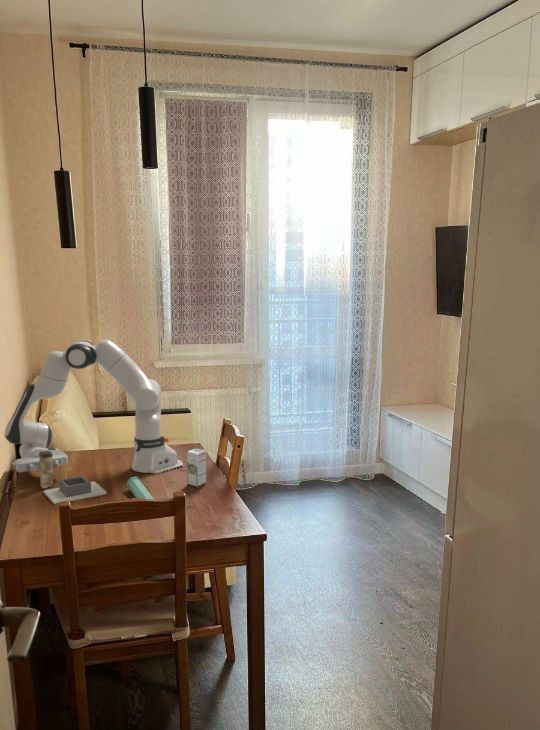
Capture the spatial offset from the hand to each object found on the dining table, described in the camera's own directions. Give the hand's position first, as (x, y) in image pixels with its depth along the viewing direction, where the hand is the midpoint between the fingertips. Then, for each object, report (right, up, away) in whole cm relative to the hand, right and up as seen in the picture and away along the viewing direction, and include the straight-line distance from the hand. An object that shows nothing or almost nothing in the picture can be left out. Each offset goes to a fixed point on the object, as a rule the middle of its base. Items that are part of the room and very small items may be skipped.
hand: (46, 467), depth 240 cm
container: (+40, -11, -10) cm, 43 cm away
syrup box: (+59, -9, +8) cm, 60 cm away
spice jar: (-1, -8, +2) cm, 8 cm away
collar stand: (+13, -9, -5) cm, 17 cm away
